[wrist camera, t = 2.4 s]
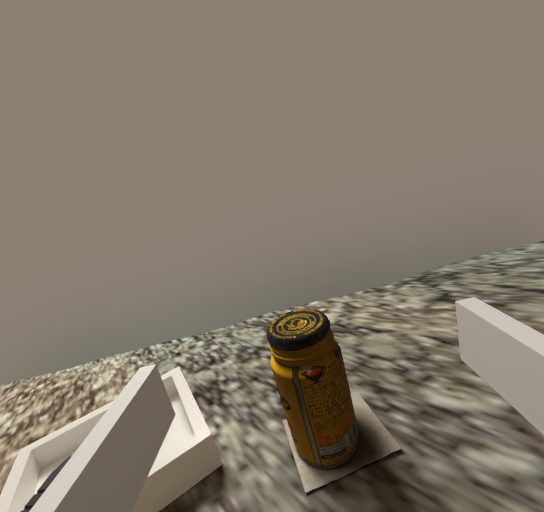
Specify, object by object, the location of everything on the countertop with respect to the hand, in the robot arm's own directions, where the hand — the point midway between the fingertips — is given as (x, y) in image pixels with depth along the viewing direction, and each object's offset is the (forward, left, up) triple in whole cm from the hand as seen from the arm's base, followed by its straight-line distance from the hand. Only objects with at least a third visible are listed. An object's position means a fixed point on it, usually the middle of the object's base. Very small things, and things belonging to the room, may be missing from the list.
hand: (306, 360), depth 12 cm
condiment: (-6, -8, -16) cm, 19 cm away
